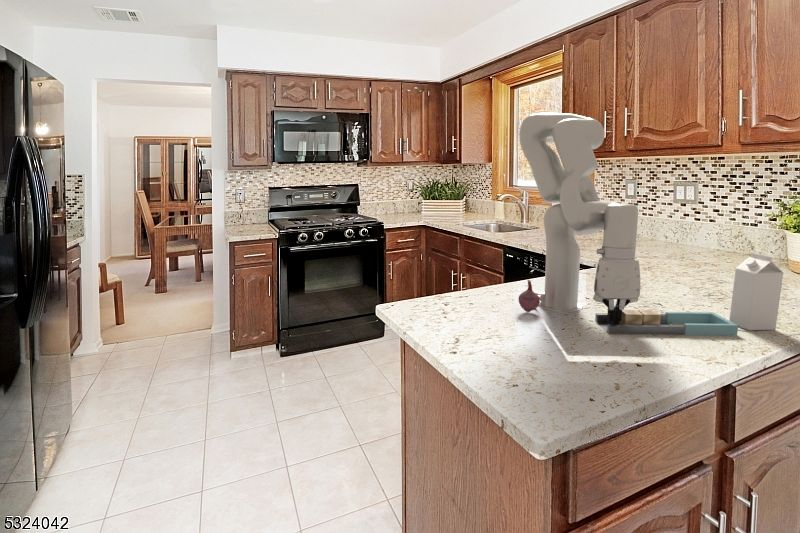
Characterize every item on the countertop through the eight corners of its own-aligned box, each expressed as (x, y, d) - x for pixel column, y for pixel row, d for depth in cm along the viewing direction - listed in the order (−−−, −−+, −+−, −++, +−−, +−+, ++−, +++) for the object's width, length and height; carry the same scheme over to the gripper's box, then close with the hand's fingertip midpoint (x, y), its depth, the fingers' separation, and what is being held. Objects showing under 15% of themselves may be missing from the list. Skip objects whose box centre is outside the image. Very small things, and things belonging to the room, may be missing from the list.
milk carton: (754, 321, 129) (763, 252, 125) (775, 330, 122) (785, 257, 118) (728, 322, 129) (737, 253, 125) (748, 331, 122) (757, 257, 118)
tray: (684, 338, 117) (686, 324, 117) (664, 324, 128) (665, 312, 127) (736, 339, 116) (738, 325, 116) (711, 325, 127) (713, 312, 126)
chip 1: (625, 329, 122) (626, 314, 121) (619, 324, 126) (620, 309, 125) (641, 329, 121) (642, 314, 121) (635, 324, 125) (636, 310, 124)
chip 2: (643, 329, 121) (644, 314, 121) (636, 324, 125) (638, 310, 125) (659, 329, 121) (660, 314, 120) (652, 324, 125) (654, 310, 124)
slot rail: (608, 337, 119) (609, 326, 118) (594, 323, 130) (595, 313, 129) (684, 338, 117) (685, 326, 117) (664, 324, 128) (665, 313, 128)
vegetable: (537, 310, 144) (538, 277, 142) (541, 316, 138) (542, 282, 136) (516, 309, 144) (517, 277, 142) (519, 315, 138) (520, 282, 136)
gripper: (592, 255, 117) (588, 327, 121) (656, 255, 116) (650, 328, 119) (583, 251, 125) (580, 319, 128) (643, 250, 123) (638, 319, 126)
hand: (613, 323), depth 124 cm, fingers closed
